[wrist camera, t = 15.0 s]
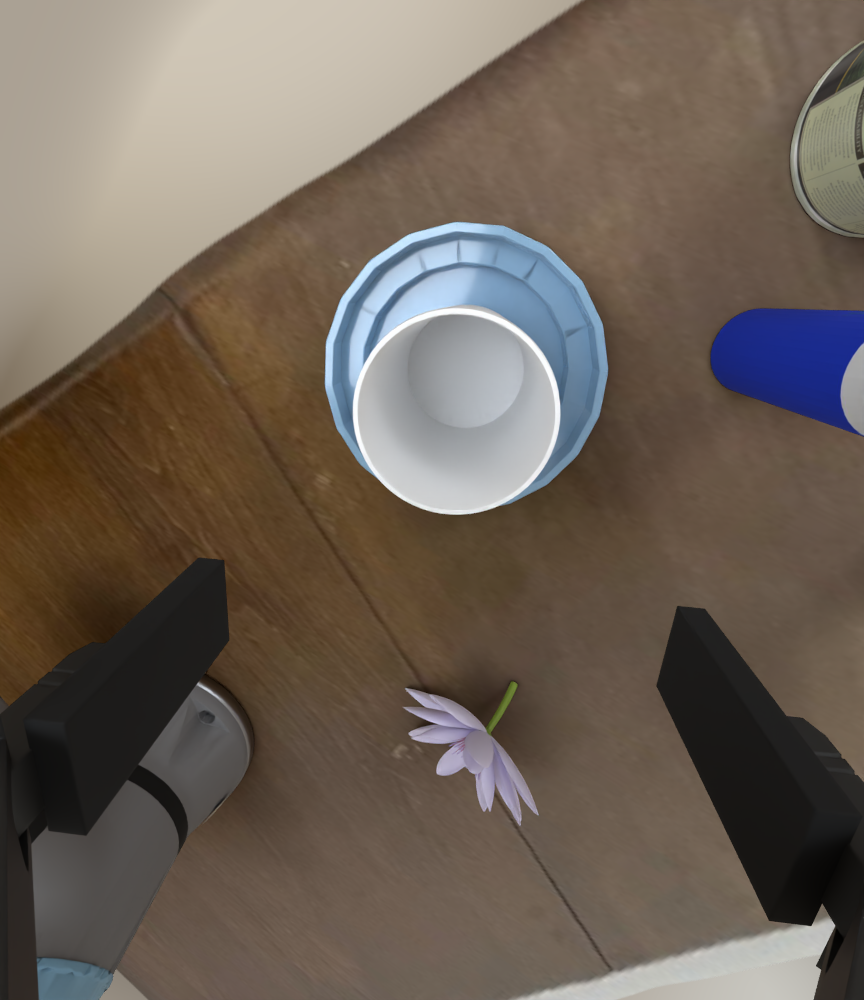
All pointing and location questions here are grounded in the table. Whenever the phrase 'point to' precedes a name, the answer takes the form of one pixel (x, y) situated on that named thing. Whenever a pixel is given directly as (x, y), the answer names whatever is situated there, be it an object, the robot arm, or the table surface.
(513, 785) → the water lily
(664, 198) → the table surface
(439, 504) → the cup
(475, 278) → the bowl
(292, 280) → the table surface
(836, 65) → the coffee can
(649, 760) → the table surface
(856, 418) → the beverage can
